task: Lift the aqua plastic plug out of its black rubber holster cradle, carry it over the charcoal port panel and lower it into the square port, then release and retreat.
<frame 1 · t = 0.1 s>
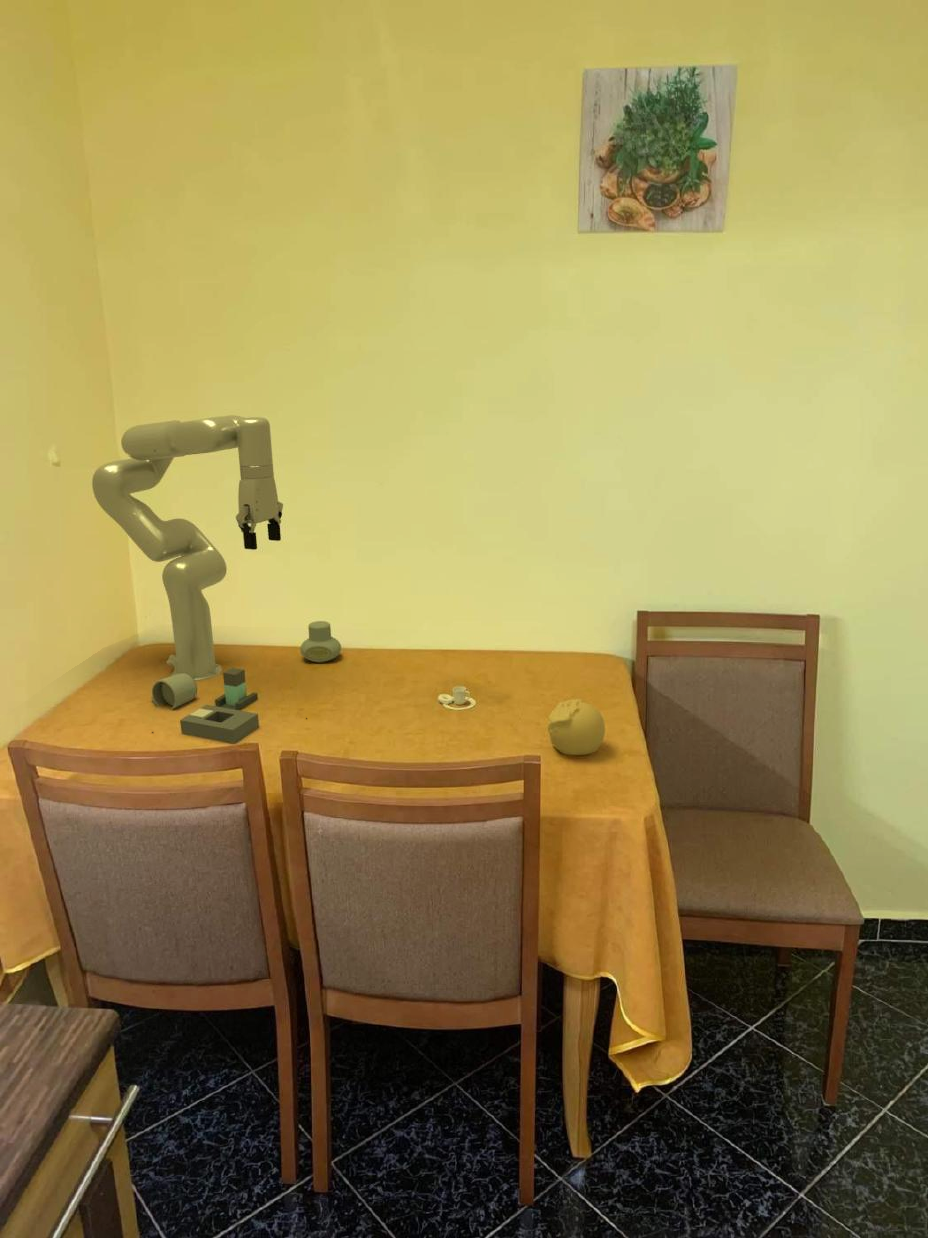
hand: (263, 544, 206), 37 cm above the table, tool pointing down, fingers open, 9 cm apart
holster: (237, 705, 207), on the table
plug: (236, 702, 206), point 1 cm above the table, touching holster
ceramic mug: (172, 705, 208), on the table
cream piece: (456, 700, 210), on the table
port panel: (220, 733, 192), on the table
air freshener: (321, 659, 237), on the table
sculpture: (575, 749, 183), on the table
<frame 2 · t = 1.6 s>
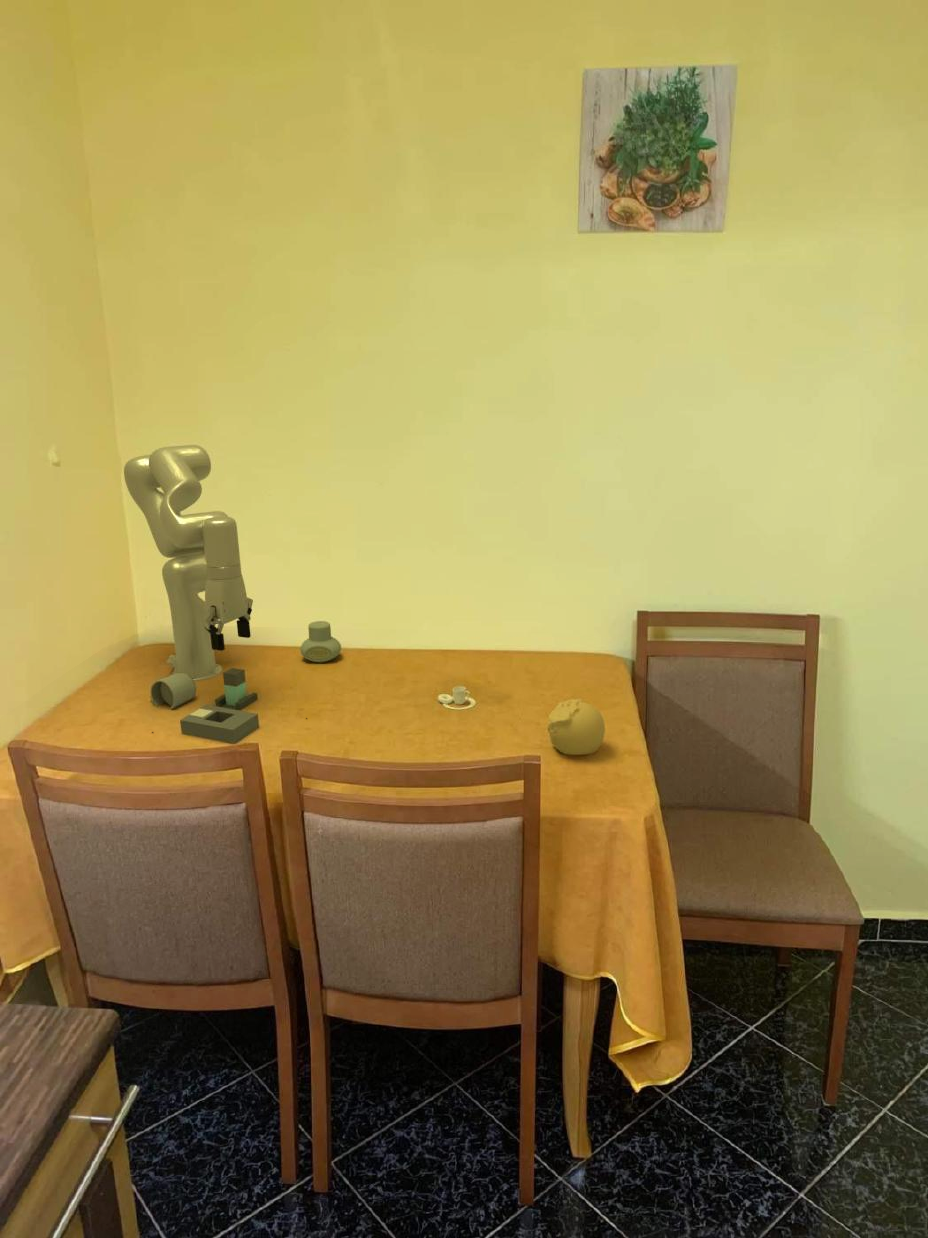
hand: (231, 643, 201), 16 cm above the table, tool pointing down, fingers open, 9 cm apart
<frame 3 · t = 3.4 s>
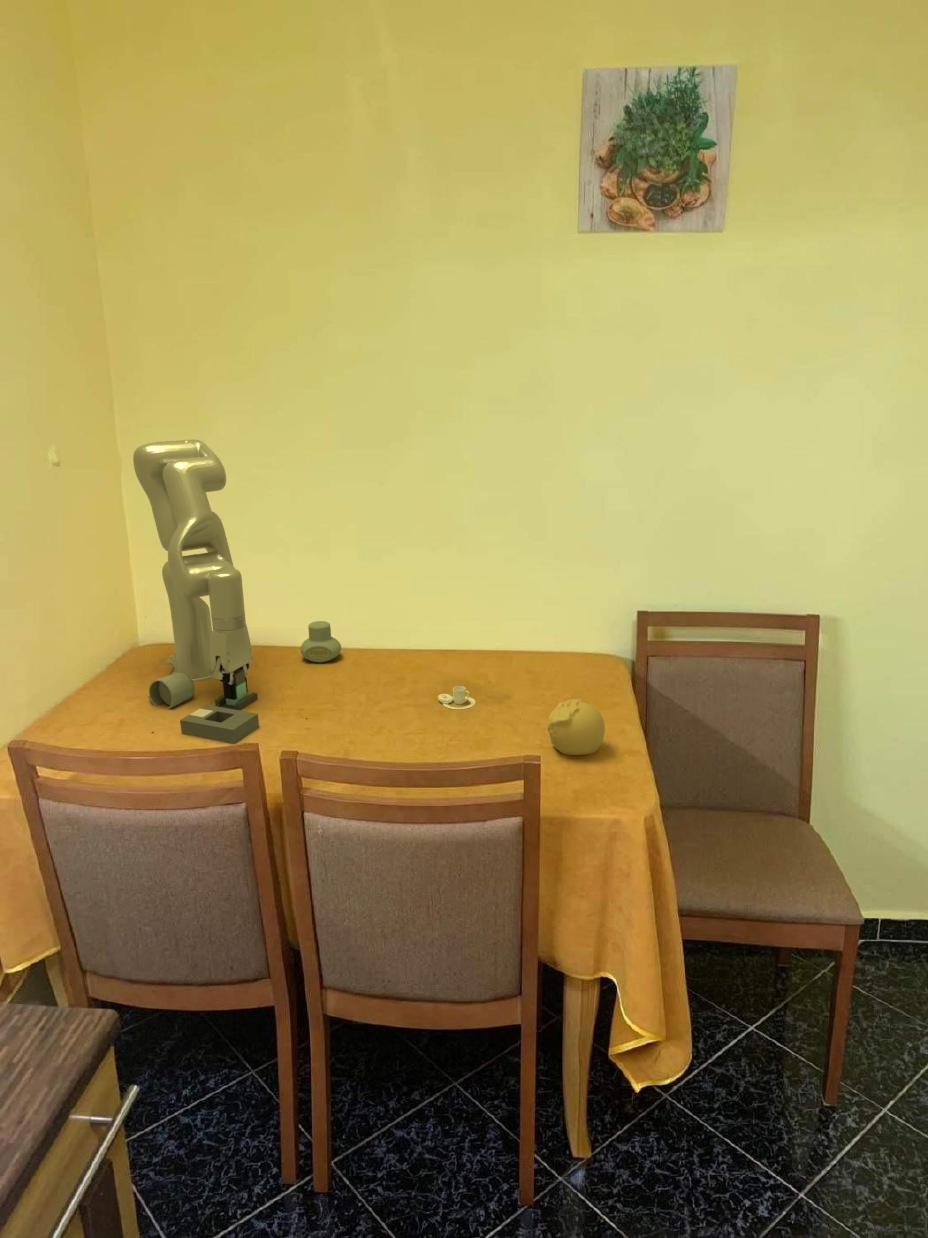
hand: (236, 694, 206), 3 cm above the table, tool pointing down, fingers closed on plug, 3 cm apart
plug: (236, 702, 206), point 1 cm above the table, touching gripper, holster
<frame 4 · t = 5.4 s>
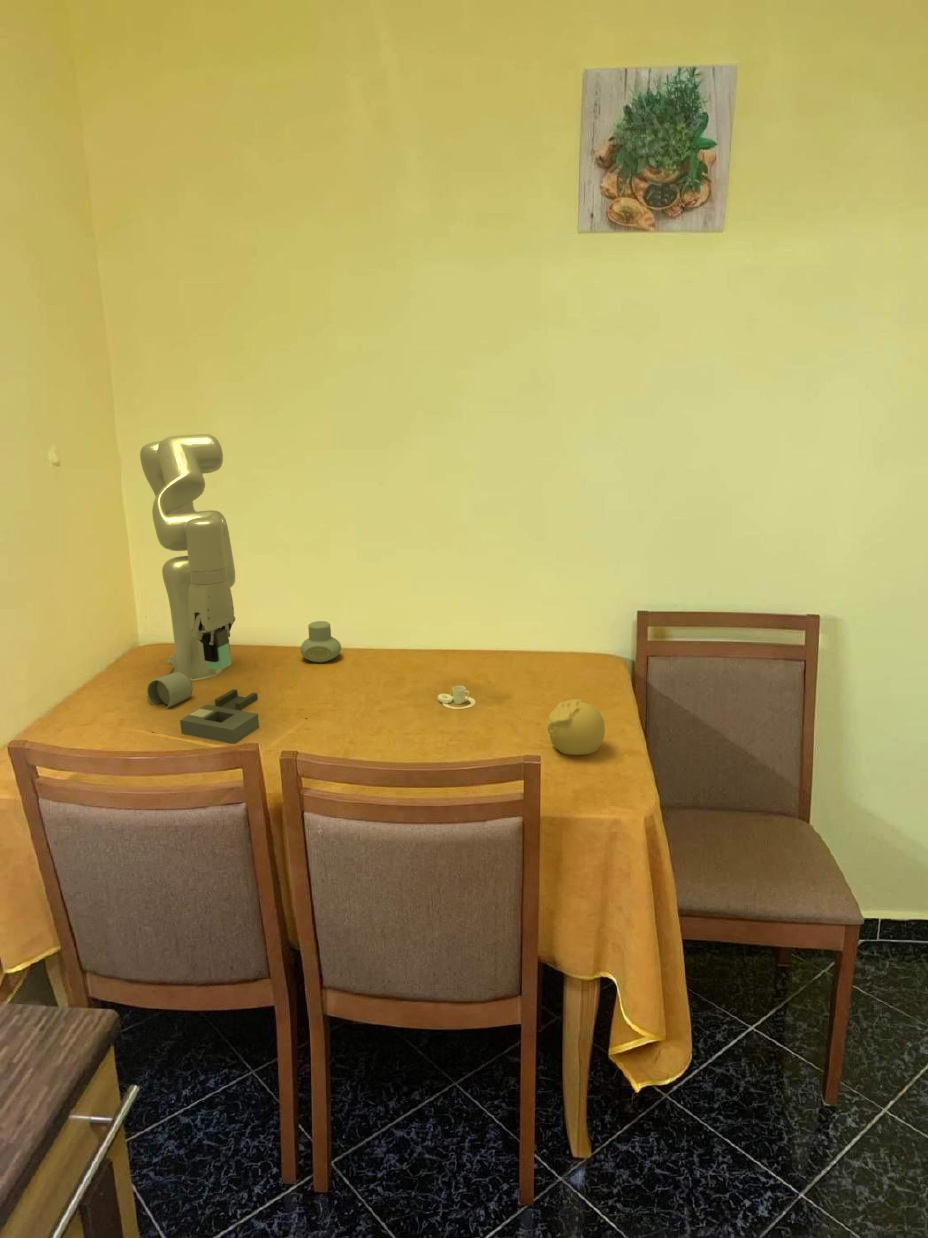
hand: (217, 657, 189), 17 cm above the table, tool pointing down, fingers closed on plug, 3 cm apart
plug: (220, 666, 190), point 15 cm above the table, touching gripper
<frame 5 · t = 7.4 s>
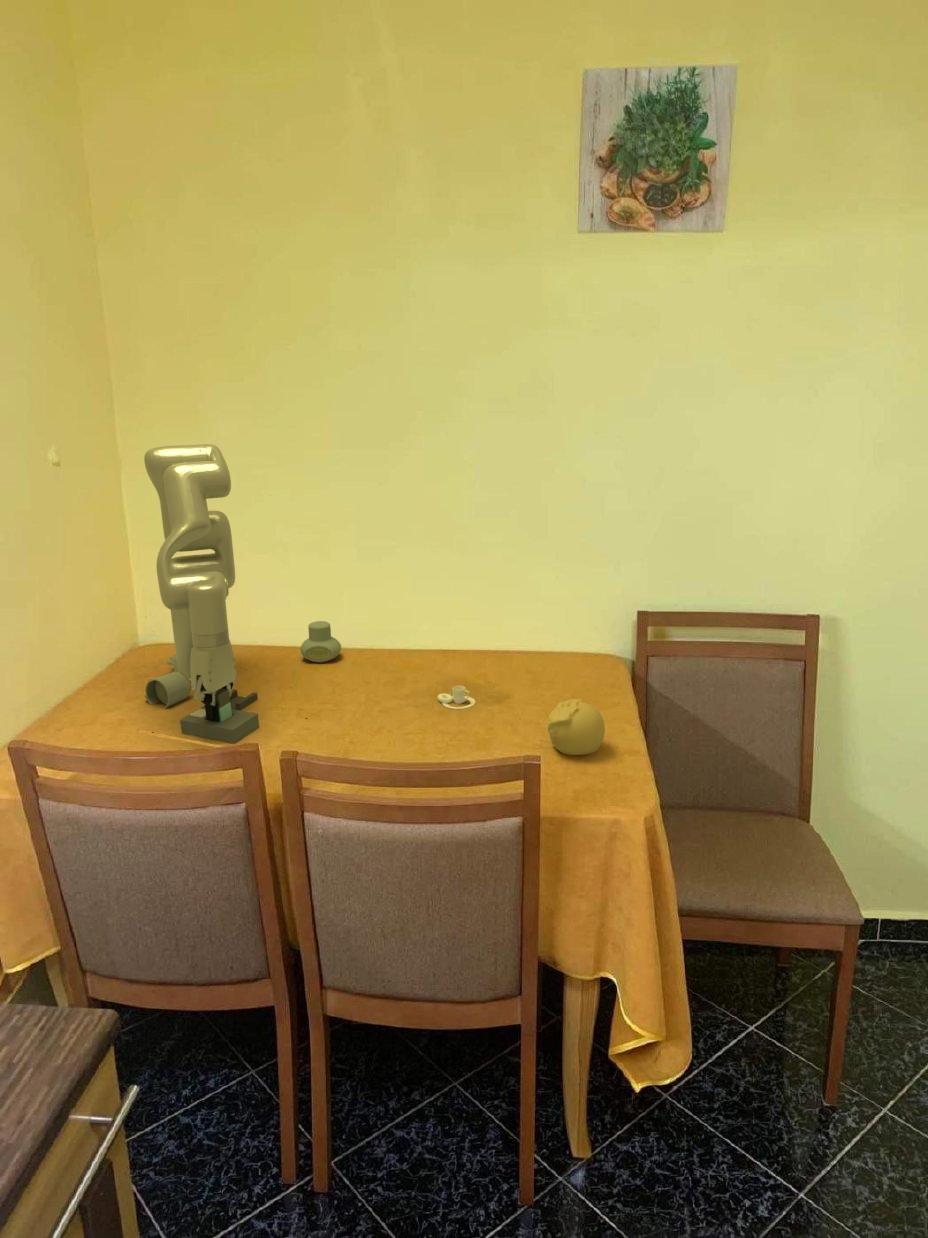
hand: (219, 716, 191), 4 cm above the table, tool pointing down, fingers closed on plug, 3 cm apart
plug: (221, 725, 191), point 2 cm above the table, touching gripper
when the fingers open (4 cm above the table, at t = 7.5 s): plug drops 1 cm, resting on port panel.
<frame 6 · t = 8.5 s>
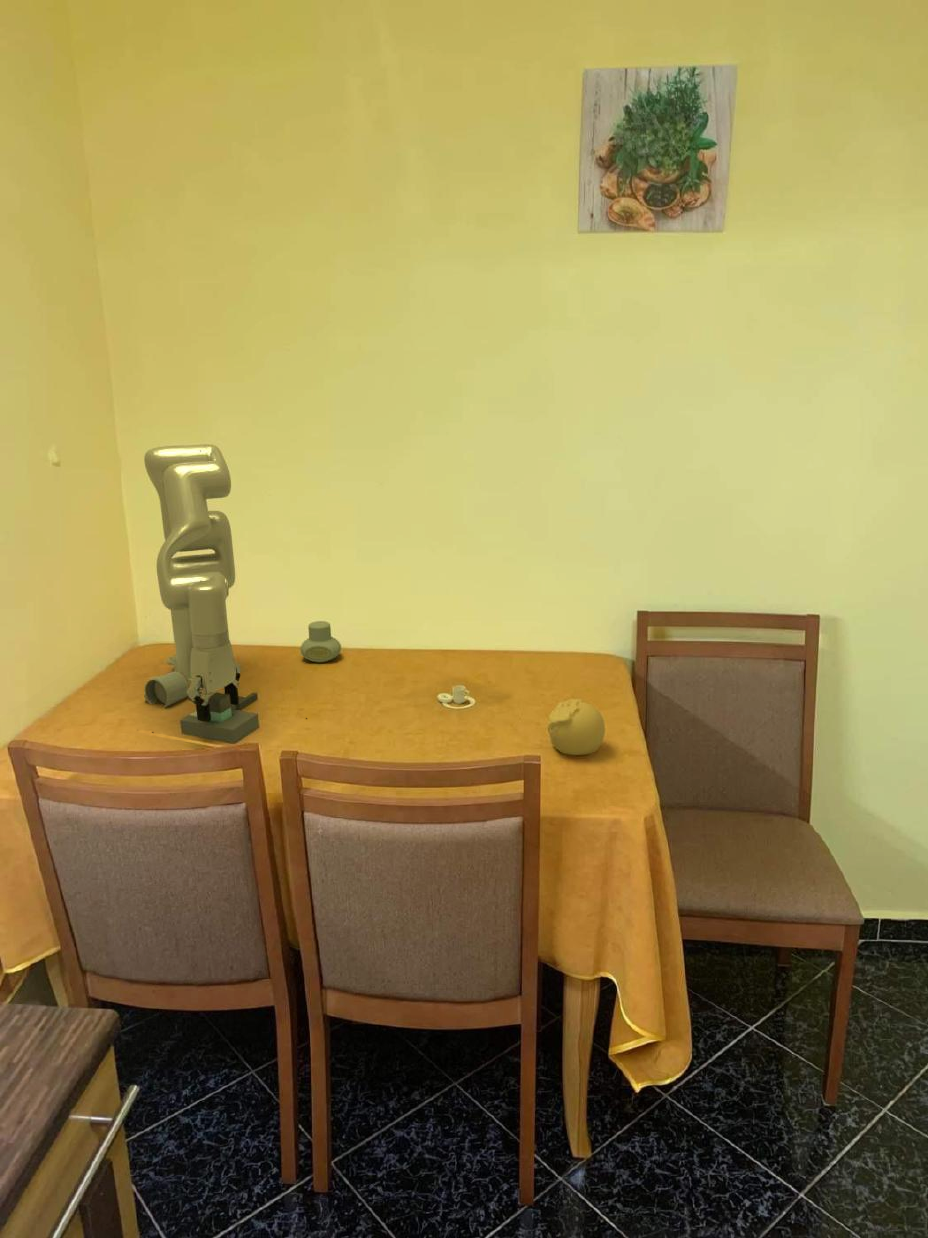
hand: (218, 712, 190), 5 cm above the table, tool pointing down, fingers open, 9 cm apart
plug: (221, 729, 191), point 1 cm above the table, touching port panel
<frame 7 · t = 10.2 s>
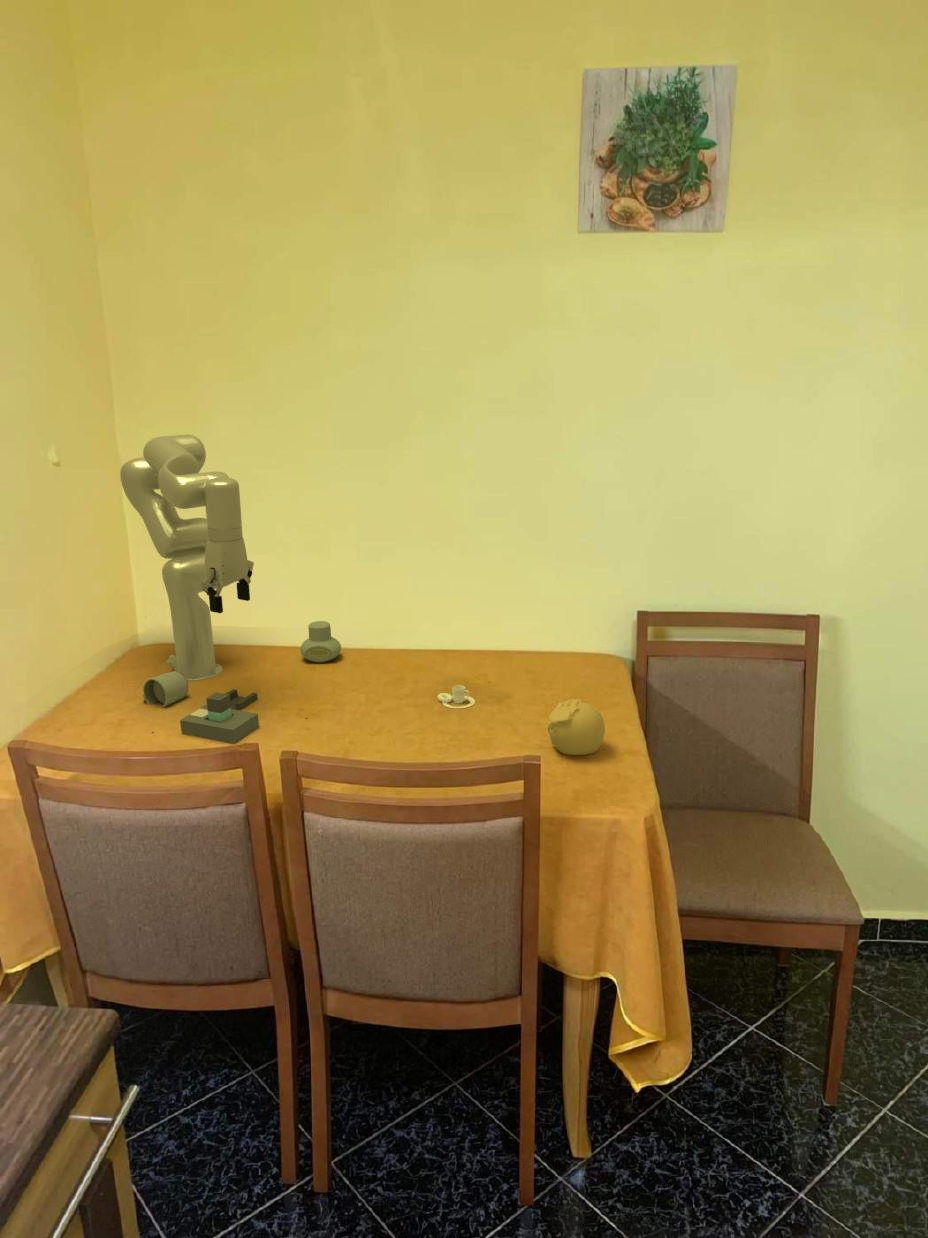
hand: (230, 605, 200), 24 cm above the table, tool pointing down, fingers open, 9 cm apart
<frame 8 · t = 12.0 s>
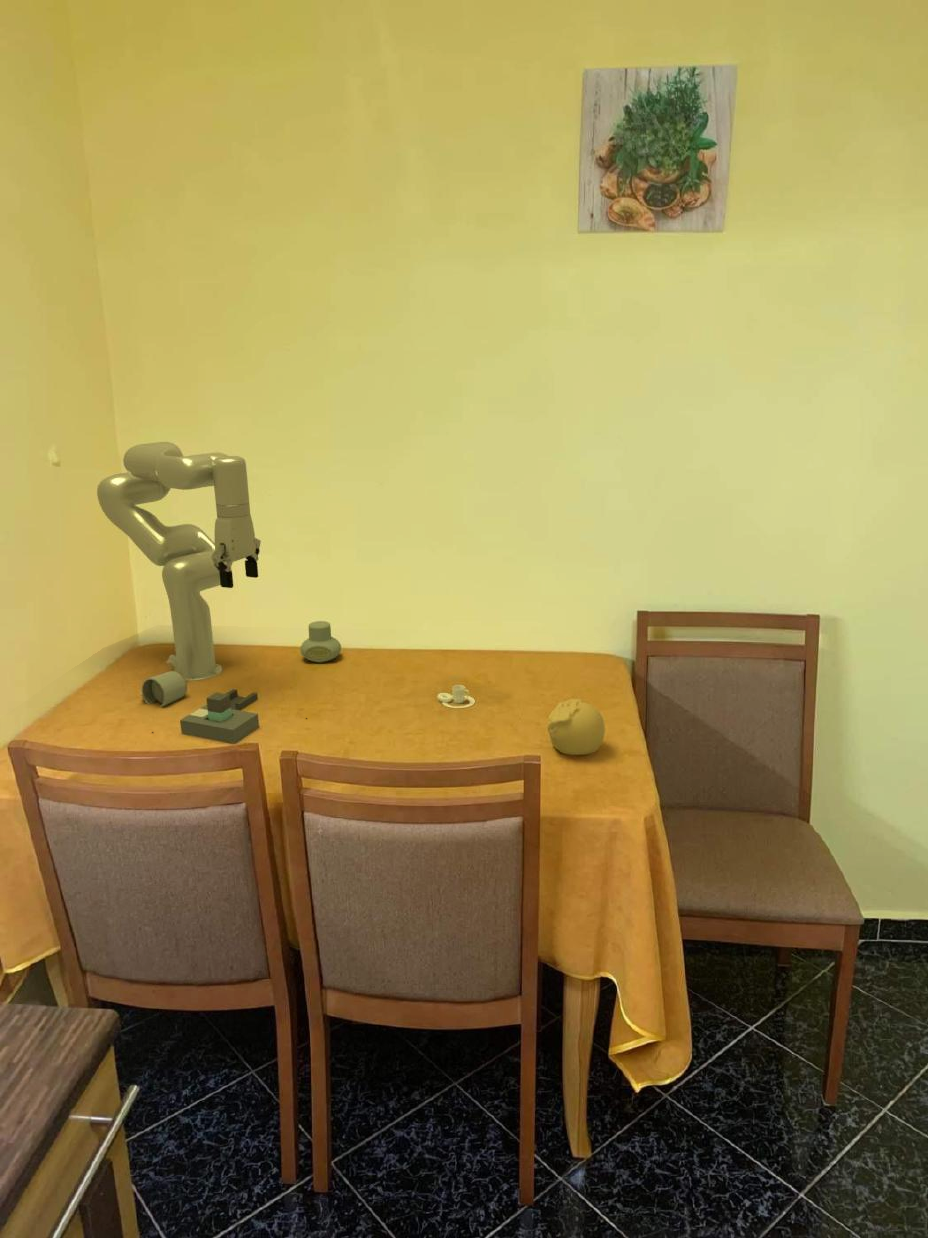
hand: (239, 582, 206), 28 cm above the table, tool pointing down, fingers open, 9 cm apart
at the end: plug 0.4 cm off-centre on the port panel, point 1.0 cm above the port panel's base; plug tilted 0°; the gripper is holding nothing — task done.
